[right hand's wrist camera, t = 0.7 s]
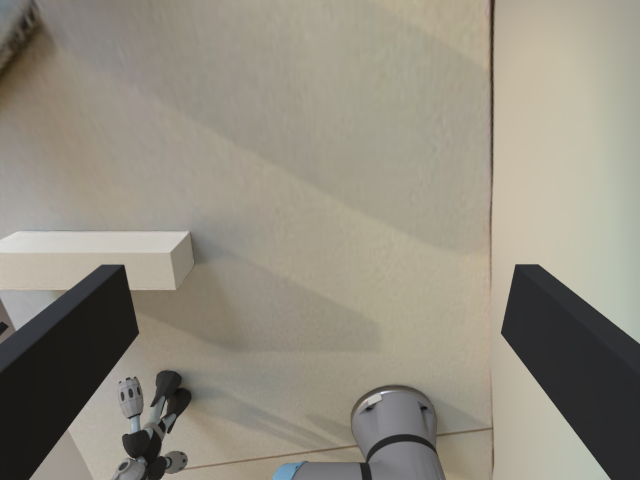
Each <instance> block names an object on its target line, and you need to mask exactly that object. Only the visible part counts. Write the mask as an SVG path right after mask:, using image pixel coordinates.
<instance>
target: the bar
mask: <svg viewBox="0 0 640 480" xmlns="http://www.w3.org/2000/svg"><path fill="white" fill-rule="evenodd" d="M102 264H124V265H125V270H126V274H127V279H128V284H129V288H130V290H177V288H178V287H179V286H180V284H181V283H182V282H183V280H184V279H185V277H186V276H187V275H188V273H189V272H190V271H191V269H192V268H193V266H194V258H193V250H192V243H191V236H190V231H18V232H16V233H14V234H12V235H10V236H7V237H5V238H3V239H1V240H0V290H70V289H71V288H72V287H74V286H75V285H76V284H77V283H79V282H80V281H81V280H82V279H84V278H85V277H86V276H88V275H89V274H90V273H91V272H93V271H94V270H95V269H96V268H98V267H99V266H100V265H102Z"/></svg>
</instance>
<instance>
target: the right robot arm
mask: <svg viewBox="0 0 640 480" xmlns="http://www.w3.org/2000/svg"><path fill="white" fill-rule="evenodd" d="M138 334H139V330H138V326H137V321H136V316H135V312H134V307H133V302H132V298H131V293H130V288H129V284H128V279H127V274H126V270H125V265H124V264H102V265H100V266H99V267H98V268H96V269H95V270H94V271H93V272H91V273H90V274H89V275H88V276H86V277H85V278H84V279H82V280H81V281H80V282H79V283H77V284H76V285H75V286H74V287H72V288H71V289H70V290H68V291H67V292H66V293H65V294H63V295H62V296H61V297H60V298H58V299H57V300H56V301H54V302H53V303H52V304H51V305H49V306H48V307H47V308H45V309H44V310H43V311H42V312H40V313H39V314H38V315H37V316H35V317H34V318H33V319H31V320H30V321H29V322H28V323H26V324H25V325H24V326H23V327H21V328H20V329H19V330H17V331H16V332H15V333H14V334H12V335H11V336H10V337H9V338H7V339H6V340H5V341H3V342H2V343H1V344H0V480H29V479H30V478H31V476H32V475H33V474H34V472H35V471H36V470H37V468H38V467H39V466H40V464H41V463H42V462H43V460H44V459H45V458H46V456H47V455H48V454H49V452H50V451H51V450H52V448H53V447H54V446H55V444H56V443H57V442H58V440H59V439H60V438H61V436H62V435H63V434H64V432H65V431H66V430H67V428H68V427H69V426H70V424H71V423H72V422H73V420H74V419H75V418H76V416H77V415H78V414H79V412H80V411H81V410H82V409H83V407H84V406H85V405H86V403H87V402H88V401H89V399H90V398H91V397H92V395H93V394H94V393H95V391H96V390H97V389H98V387H99V386H100V385H101V383H102V382H103V381H104V379H105V378H106V377H107V375H108V374H109V373H110V371H111V370H112V369H113V367H114V366H115V365H116V363H117V362H118V361H119V359H120V358H121V357H122V355H123V354H124V353H125V351H126V350H127V349H128V347H129V346H130V345H131V343H132V342H133V341H134V339H135V338H136V337H137V335H138ZM501 334H502V335H503V337H504V338H505V339H506V341H507V342H508V343H509V345H510V346H511V347H512V349H513V350H514V351H515V353H516V354H517V355H518V357H519V358H520V359H521V361H522V362H523V363H524V365H525V366H526V367H527V369H528V370H529V371H530V373H531V374H532V375H533V377H534V378H535V379H536V381H537V382H538V383H539V385H540V386H541V387H542V389H543V390H544V391H545V393H546V394H547V395H548V397H549V398H550V399H551V401H552V402H553V403H554V404H555V406H556V407H557V408H558V410H559V411H560V412H561V414H562V415H563V416H564V418H565V419H566V420H567V422H568V423H569V424H570V426H571V427H572V428H573V430H574V431H575V432H576V434H577V435H578V436H579V438H580V439H581V440H582V442H583V443H584V444H585V446H586V447H587V448H588V450H589V451H590V452H591V454H592V455H593V456H594V458H595V459H596V460H597V462H598V463H599V464H600V466H601V467H602V468H603V470H604V471H605V472H606V474H607V475H608V476H609V478H610V479H611V480H640V344H639V343H638V342H636V341H635V340H634V339H633V338H631V337H630V336H629V335H628V334H626V333H625V332H624V331H623V330H621V329H620V328H619V327H617V326H616V325H615V324H614V323H612V322H611V321H610V320H609V319H607V318H606V317H605V316H603V315H602V314H601V313H599V312H598V311H597V310H596V309H595V308H593V307H592V306H591V305H589V304H588V303H587V302H586V301H584V300H583V299H582V298H580V297H579V296H578V295H577V294H575V293H574V292H573V291H572V290H570V289H569V288H568V287H566V286H565V285H564V284H563V283H561V282H560V281H559V280H558V279H556V278H555V277H554V276H552V275H551V274H550V273H549V272H547V271H546V270H545V269H544V268H542V267H541V266H540V265H538V264H516V265H515V270H514V274H513V279H512V284H511V288H510V293H509V298H508V302H507V307H506V312H505V316H504V321H503V326H502V330H501ZM351 427H352V433H353V436H354V438H355V440H356V442H357V444H358V446H359V448H360V450H361V452H362V454H363V456H364V459H365V461H366V463H355V462H308V461H304V462H303V461H302V462H300V463H286V464H284V465H282V466H280V467H279V468H278V469H277V470H276V472H275V474H274V476H273V478H272V480H446V478H445V475H444V472H443V469H442V466H441V463H440V460H439V458H438V455H437V452H436V430H437V421H436V415H435V412H434V409H433V406H432V404H431V402H430V401H429V399H428V398H427V397H426V396H425V395H424V394H422V393H421V392H419V391H417V390H415V389H413V388H410V387H406V386H396V385H395V386H385V387H381V388H377V389H375V390H372V391H370V392H369V393H367V394H365V395H364V396H363V397H362V398H361V399H360V400H359V401H358V402H357V403H356V404H355V406H354V408H353V410H352V414H351Z"/></svg>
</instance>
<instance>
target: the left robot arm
mask: <svg viewBox="0 0 640 480" xmlns="http://www.w3.org/2000/svg"><path fill="white" fill-rule="evenodd" d="M8 327H9V326H7V325H6V324H5V323H3V322H1V323H0V335H1V334H2V333H3V332H4V331H5V330H6V329H7V328H8Z"/></svg>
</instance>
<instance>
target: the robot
mask: <svg viewBox="0 0 640 480" xmlns="http://www.w3.org/2000/svg"><path fill="white" fill-rule="evenodd" d="M180 382H181V377H180V376H179V375H178V374H177V373H176V372H172V371H161V372H160V373H159V374H157V378H156V386H157V389H156V395H155V398H154V400H153V402H152V404H151V406H150V407H153V408H152V411H151V414H150V417H149V420H148V421H147V423H146V424H145V425H144V427H143V429H142V430H141V429H140V415H141V413H142V411H143V405H144V404H143V394H142V390H141V386H140V383H139V381H138V379H137V378H136V377H134V379H130V377H129V378H126V381H124V382H122V383H121V381H120V382H119V386H118V397H119V402H120V406H121V409H122V413H123V414H124V415H125V417H126V418H129V419H130V421H131V424H132V427H131V434H129V435H128V434H125V435H123V436H122V441H123V446H124V449H125V450H126V452H127V453H128V455H129V456H130V457H132V458H135V460H133V459H130V458H127V459H124V460H123V461H122V463H121V464H120V465H119V466H118V468H117V471H116V472H115V474H114V476H113V477H112V479H111V480H160V479H161V478H162V476H163V475H164V473H169V474H173V473H177V472H179V471H181V470H183V469H184V468H185V466H186V465H187V462H188V459H187V456H186V454H185V453H183V452H180V451H171V452H169V453H167V454H165V456H164V457H163V456H160V452H161V446H162V441H163V439H164V436H165V434H166V430H167V429H168V431H167V433H168V434H169V433H170V432H171V430H172V428H173V426H174V423H175V421H176V419H177V417H178V416H179V415H180V414H181V413H182V412H183V411H184V410H185V409H186V407H187V406H188V404H189V402H190V400H191V394H190V392H188V391H187V390H185V389H177V388H178V387H179V385H180ZM166 400H167V402H168V405H167V414H166V415H165V416H164V417H163V418H164V419H163V418H162V419H163V420H162V419H160V416H161V414H162V411H163V407H164V404H165V401H166ZM159 456H160V457H159Z"/></svg>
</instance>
